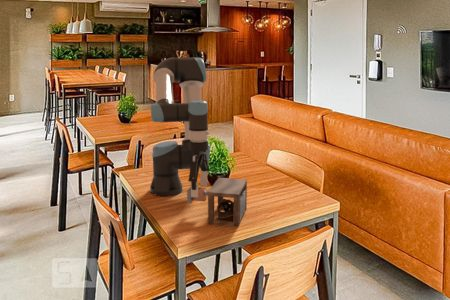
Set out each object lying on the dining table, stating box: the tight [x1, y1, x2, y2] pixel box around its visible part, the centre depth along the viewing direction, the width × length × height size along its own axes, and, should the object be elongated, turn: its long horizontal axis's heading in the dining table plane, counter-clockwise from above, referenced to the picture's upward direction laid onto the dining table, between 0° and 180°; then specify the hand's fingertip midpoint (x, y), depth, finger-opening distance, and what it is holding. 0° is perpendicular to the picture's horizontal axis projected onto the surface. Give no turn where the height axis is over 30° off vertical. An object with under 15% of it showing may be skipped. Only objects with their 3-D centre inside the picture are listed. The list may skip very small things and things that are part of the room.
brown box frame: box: [186, 186, 246, 222], centre depth 170 cm, size 22×12×10 cm, turn 78°
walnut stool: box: [207, 177, 248, 228], centre depth 169 cm, size 12×18×13 cm, turn 168°
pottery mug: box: [216, 198, 234, 220], centre depth 171 cm, size 12×9×8 cm
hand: (199, 191), depth 171 cm, fingers open, 13 cm apart
